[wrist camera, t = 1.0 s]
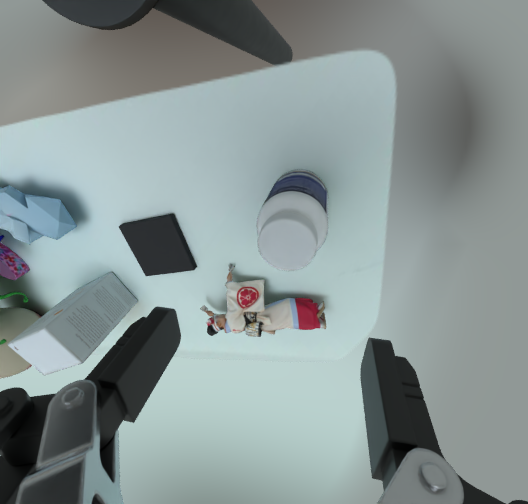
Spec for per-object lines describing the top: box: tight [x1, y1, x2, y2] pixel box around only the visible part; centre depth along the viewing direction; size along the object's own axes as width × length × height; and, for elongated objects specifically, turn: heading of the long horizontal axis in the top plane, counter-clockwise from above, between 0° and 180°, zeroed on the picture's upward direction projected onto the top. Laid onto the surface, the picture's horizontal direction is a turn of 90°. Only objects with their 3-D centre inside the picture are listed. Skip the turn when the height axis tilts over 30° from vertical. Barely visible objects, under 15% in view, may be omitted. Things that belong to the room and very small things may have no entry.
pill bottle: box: [257, 170, 328, 271], centre depth 22 cm, size 5×5×10 cm
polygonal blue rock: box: [0, 185, 77, 244], centre depth 31 cm, size 13×7×5 cm, turn 94°
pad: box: [119, 214, 197, 276], centre depth 32 cm, size 7×7×1 cm
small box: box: [7, 272, 137, 375], centre depth 34 cm, size 8×6×10 cm
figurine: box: [200, 265, 326, 337], centre depth 33 cm, size 6×8×15 cm
